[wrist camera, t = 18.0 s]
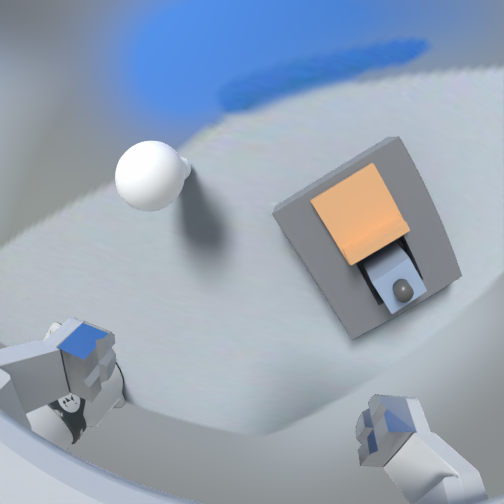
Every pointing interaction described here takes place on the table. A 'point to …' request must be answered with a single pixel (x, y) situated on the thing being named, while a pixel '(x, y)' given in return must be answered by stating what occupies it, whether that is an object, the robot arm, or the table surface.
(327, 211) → the panel
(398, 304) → the plug
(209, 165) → the table surface
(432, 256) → the socket block
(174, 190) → the lightbulb
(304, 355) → the table surface
